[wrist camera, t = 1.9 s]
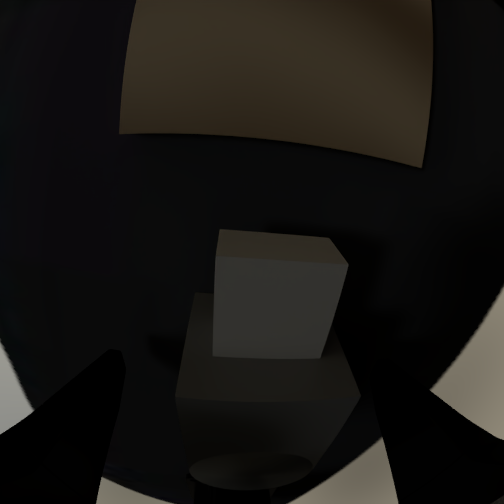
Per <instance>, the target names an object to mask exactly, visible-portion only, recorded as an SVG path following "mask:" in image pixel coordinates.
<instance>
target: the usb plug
mask: <svg viewBox="0 0 504 504" xmlns="http://www.w3.org/2000/svg"><path fill="white" fill-rule="evenodd" d="M348 265H349V264H348V263H347V262H346V260H345V259H344V257H343V256H342V255H341V253H340V252H339V251H338V249H337V248H336V247H335V245H334V244H333V242H332V241H331V240H330V238H324V237H313V236H301V235H289V234H276V233H264V232H250V231H237V230H223V229H220V232H219V238H218V245H217V252H216V263H215V286H214V294H212V293H198V292H195V296H194V301H193V306H192V310H191V315H190V320H189V325H188V330H187V335H186V340H185V345H184V350H183V355H182V361H181V366H180V372H179V377H178V383H177V389H176V394H175V399H176V405H177V411H178V417H179V423H180V428H181V433H182V438H183V443H184V448H185V453H186V458H187V462H188V467H189V471H190V474H191V475H192V476H193V477H194V478H195V479H196V480H198V481H200V482H202V483H204V484H207V485H210V486H213V487H218V488H223V489H230V490H262V489H269V488H275V487H280V486H283V485H287V484H290V483H293V482H295V481H298V480H300V479H302V478H303V477H305V476H306V475H308V474H309V473H310V472H311V470H312V469H313V468H314V466H315V465H316V464H317V462H318V461H319V460H320V458H321V457H322V456H323V454H324V453H325V451H326V450H327V449H328V447H329V446H330V444H331V443H332V441H333V440H334V439H335V437H336V436H337V434H338V433H339V431H340V429H341V428H342V426H343V425H344V423H345V422H346V420H347V419H348V417H349V415H350V414H351V412H352V410H353V409H354V407H355V406H356V404H357V402H358V400H359V399H360V397H361V394H360V392H359V389H358V387H357V384H356V382H355V379H354V377H353V374H352V371H351V369H350V367H349V364H348V362H347V359H346V357H345V354H344V352H343V349H342V347H341V344H340V342H339V340H338V337H337V335H336V332H335V330H334V328H333V325H332V321H333V318H334V314H335V311H336V308H337V305H338V301H339V298H340V294H341V291H342V287H343V284H344V280H345V276H346V273H347V269H348Z"/></svg>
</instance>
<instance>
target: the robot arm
mask: <svg viewBox="0 0 504 504" xmlns="http://www.w3.org/2000/svg"><path fill="white" fill-rule="evenodd" d="M125 373H126V367H125V363H124V360H123V356H122V353H121V351H119V350H113V349H110V350H108V351H106V352H105V353H104V354H103V355H102V356H100V357H99V358H98V359H97V360H95V361H94V362H93V363H92V364H90V365H89V366H88V367H87V368H86V369H84V370H83V371H82V372H81V373H79V374H78V375H77V376H76V377H75V378H73V379H72V380H71V381H70V382H69V383H67V384H66V385H65V386H64V387H62V388H61V389H60V390H59V391H58V392H56V393H55V394H54V395H53V396H52V397H50V398H49V399H48V400H47V401H46V402H44V403H43V405H41V406H39V407H38V408H37V409H36V410H35V411H33V412H32V413H31V414H30V415H28V416H27V417H26V418H24V419H23V420H21V421H20V422H19V423H17V424H16V425H14V426H13V427H11V428H10V429H8V430H6V431H5V432H3V433H2V434H0V504H96V501H97V495H98V491H99V486H100V481H101V477H102V473H103V469H104V464H105V460H106V456H107V452H108V448H109V444H110V441H111V437H112V433H113V430H114V426H115V422H116V419H117V415H118V411H119V407H120V401H121V395H122V390H123V384H124V379H125ZM370 383H371V389H372V394H373V400H374V405H375V411H376V415H377V419H378V422H379V426H380V430H381V433H382V437H383V441H384V444H385V448H386V452H387V456H388V459H389V464H390V468H391V472H392V476H393V480H394V485H395V489H396V494H397V498H398V504H504V440H502V439H499V438H497V437H495V436H493V435H492V434H490V433H488V432H487V431H485V430H484V429H482V428H480V427H479V426H477V425H476V424H474V423H472V422H471V421H470V420H468V419H467V418H465V417H464V416H463V415H461V414H460V413H458V412H457V411H456V410H455V409H452V407H451V406H449V405H448V404H447V403H445V402H444V401H443V400H442V399H440V398H439V397H438V396H436V395H435V394H434V393H432V392H431V391H430V390H429V389H427V388H426V387H425V386H423V385H422V384H421V383H419V382H418V381H417V380H416V379H414V378H413V377H412V376H410V375H409V374H408V373H406V372H405V371H404V370H403V369H401V368H400V367H399V366H397V365H396V364H395V363H393V362H392V361H391V360H389V359H380V360H378V361H377V362H376V364H375V366H374V368H373V370H372V372H371V374H370ZM186 481H187V484H188V488H189V491H190V494H191V497H192V498H193V499H194V504H271V501H270V498H271V496H272V495H273V493H274V491H275V490H276V488H277V487H275V488H269V489H262V490H230V489H223V488H218V487H213V486H210V485H207V484H204V483H202V482H200V481H198V480H196V479H195V478H194V477H193V476H192V475H191V474H187V475H186Z"/></svg>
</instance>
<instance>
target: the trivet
mask: <svg viewBox="0 0 504 504" xmlns="http://www.w3.org/2000/svg"><path fill="white" fill-rule="evenodd" d="M432 73H433V23H432V6H431V0H137V1H136V5H135V10H134V15H133V20H132V25H131V30H130V36H129V42H128V48H127V55H126V62H125V70H124V78H123V88H122V99H121V112H120V130H119V134H137V133H183V134H209V135H226V136H240V137H251V138H262V139H271V140H280V141H288V142H295V143H302V144H309V145H316V146H322V147H328V148H334V149H339V150H345V151H350V152H355V153H360V154H365V155H370V156H374V157H379V158H383V159H387V160H392V161H396V162H400V163H404V164H408V165H412V166H415V167H419V168H422V163H423V157H424V151H425V144H426V138H427V130H428V122H429V113H430V103H431V90H432Z"/></svg>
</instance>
